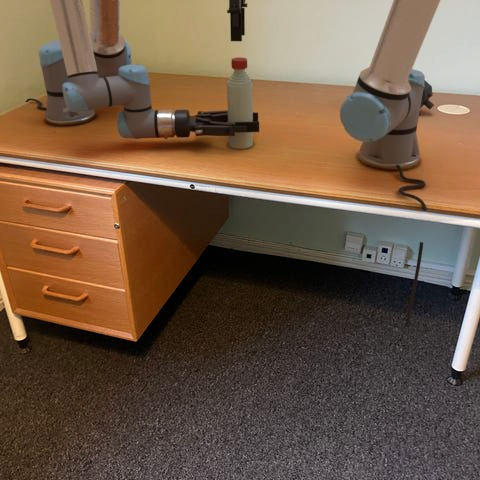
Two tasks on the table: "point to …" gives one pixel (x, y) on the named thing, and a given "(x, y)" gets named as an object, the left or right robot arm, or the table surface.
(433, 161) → the table surface
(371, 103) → the right robot arm
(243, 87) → the bottle
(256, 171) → the table surface
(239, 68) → the cap
